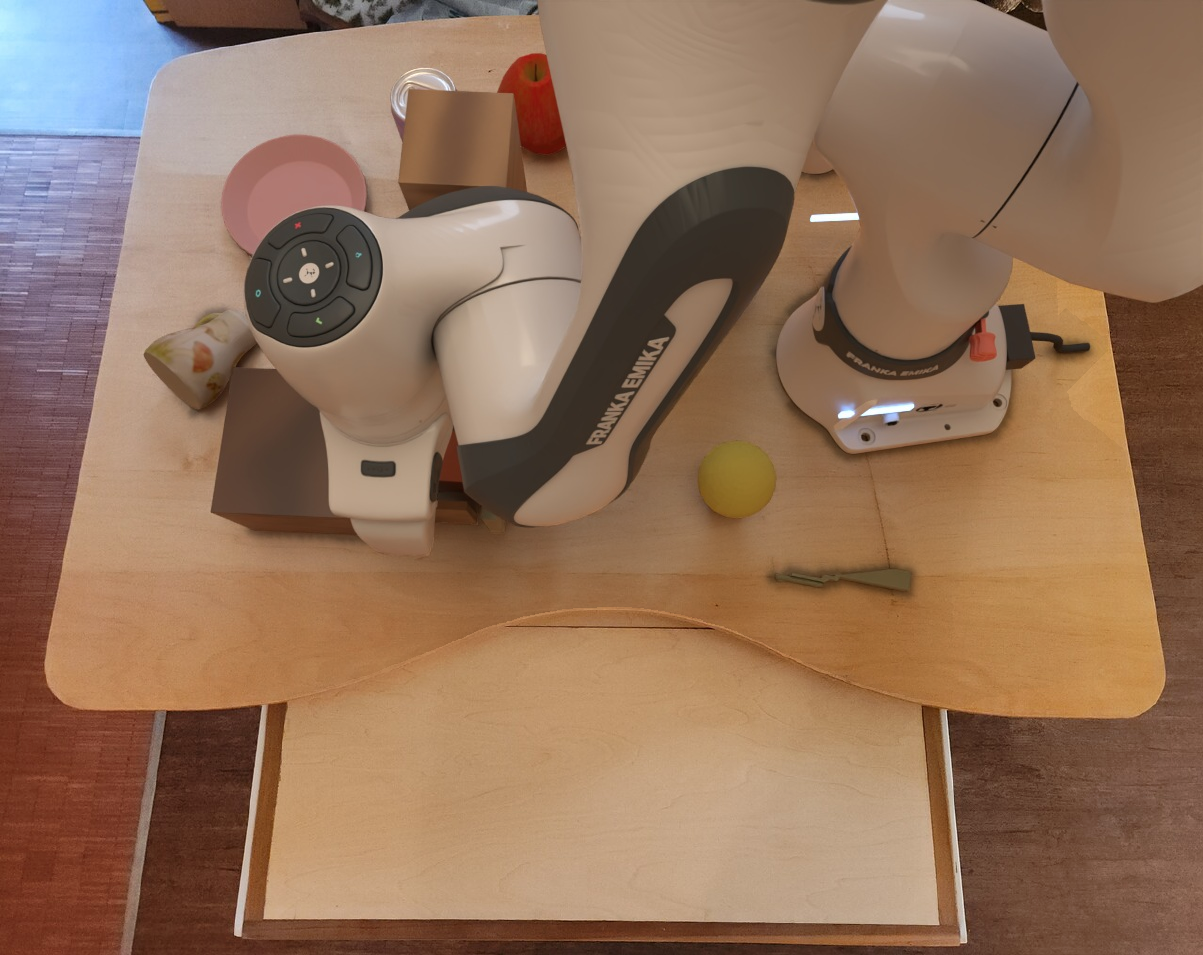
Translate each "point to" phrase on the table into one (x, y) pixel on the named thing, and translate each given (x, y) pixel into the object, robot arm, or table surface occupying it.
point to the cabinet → (273, 459)
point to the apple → (535, 104)
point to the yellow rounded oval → (736, 479)
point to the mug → (201, 356)
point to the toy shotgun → (857, 578)
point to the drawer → (465, 511)
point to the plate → (287, 185)
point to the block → (451, 469)
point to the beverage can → (415, 80)
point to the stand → (459, 144)
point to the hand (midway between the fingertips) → (433, 441)
